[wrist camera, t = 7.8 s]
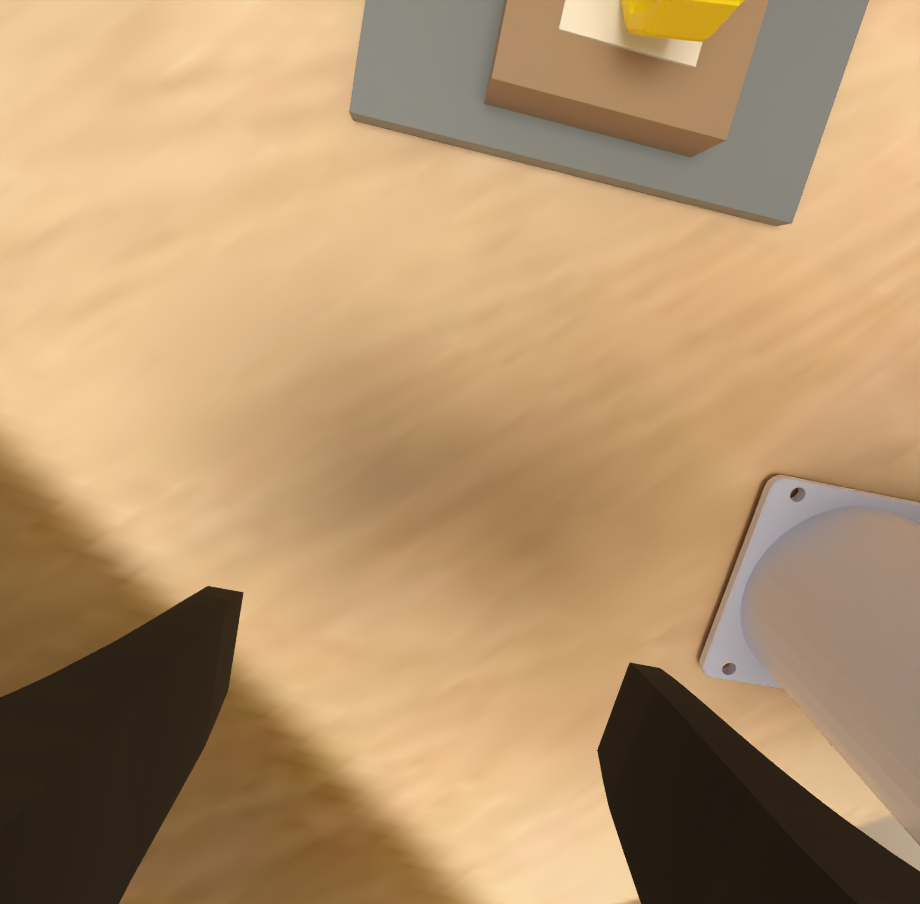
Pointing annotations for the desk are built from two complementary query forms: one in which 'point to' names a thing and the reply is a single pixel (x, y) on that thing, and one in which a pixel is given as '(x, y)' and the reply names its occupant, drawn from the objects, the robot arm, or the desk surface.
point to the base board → (725, 175)
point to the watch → (677, 17)
